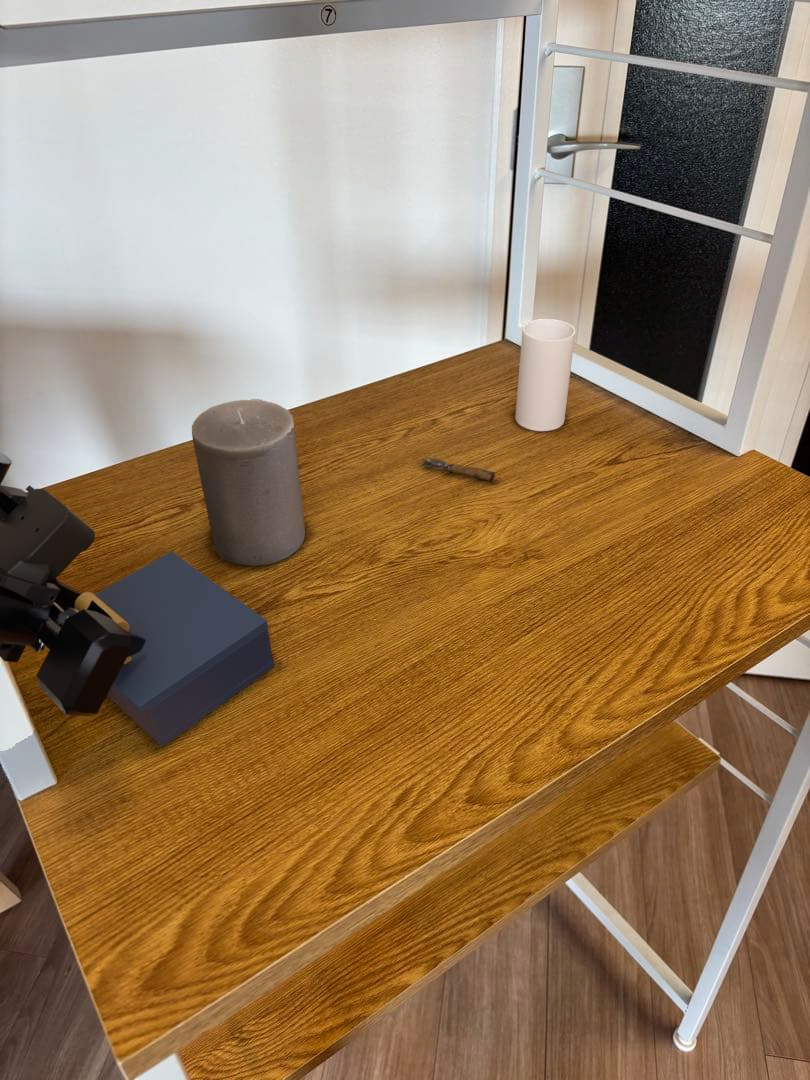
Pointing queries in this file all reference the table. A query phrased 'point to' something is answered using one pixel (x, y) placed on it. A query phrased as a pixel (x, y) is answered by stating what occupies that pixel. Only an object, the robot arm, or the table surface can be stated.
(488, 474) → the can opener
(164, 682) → the lid
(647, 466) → the table surface
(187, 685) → the chest
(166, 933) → the table surface
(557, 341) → the cup
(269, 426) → the pillar candle
